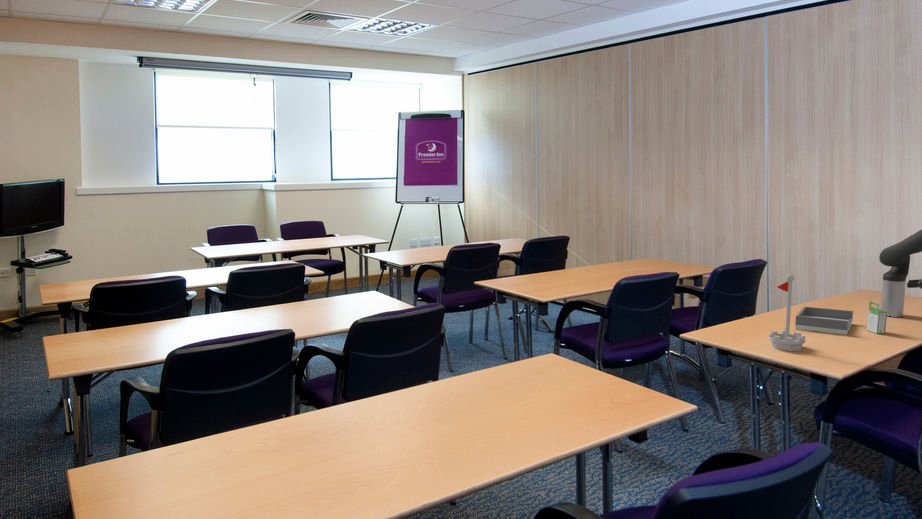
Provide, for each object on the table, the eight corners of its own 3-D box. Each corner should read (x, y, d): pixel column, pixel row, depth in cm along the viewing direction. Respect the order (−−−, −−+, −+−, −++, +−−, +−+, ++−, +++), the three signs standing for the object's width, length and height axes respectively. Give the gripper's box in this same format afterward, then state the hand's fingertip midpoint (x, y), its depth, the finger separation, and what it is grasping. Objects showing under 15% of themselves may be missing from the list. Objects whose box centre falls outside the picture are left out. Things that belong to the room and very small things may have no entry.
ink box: (885, 334, 275) (888, 303, 273) (876, 334, 275) (878, 303, 274) (875, 330, 282) (877, 300, 280) (866, 330, 282) (868, 300, 280)
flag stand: (793, 342, 265) (797, 271, 261) (811, 351, 252) (815, 276, 248) (762, 343, 264) (765, 271, 260) (779, 352, 252) (782, 277, 248)
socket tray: (803, 318, 306) (804, 306, 305) (852, 323, 294) (852, 311, 293) (795, 329, 287) (795, 316, 286) (846, 334, 275) (847, 321, 274)
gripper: (955, 270, 266) (908, 273, 276) (954, 274, 254) (905, 277, 265) (957, 288, 266) (909, 290, 276) (956, 293, 255) (907, 295, 265)
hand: (907, 283), depth 270 cm, fingers open, 8 cm apart
